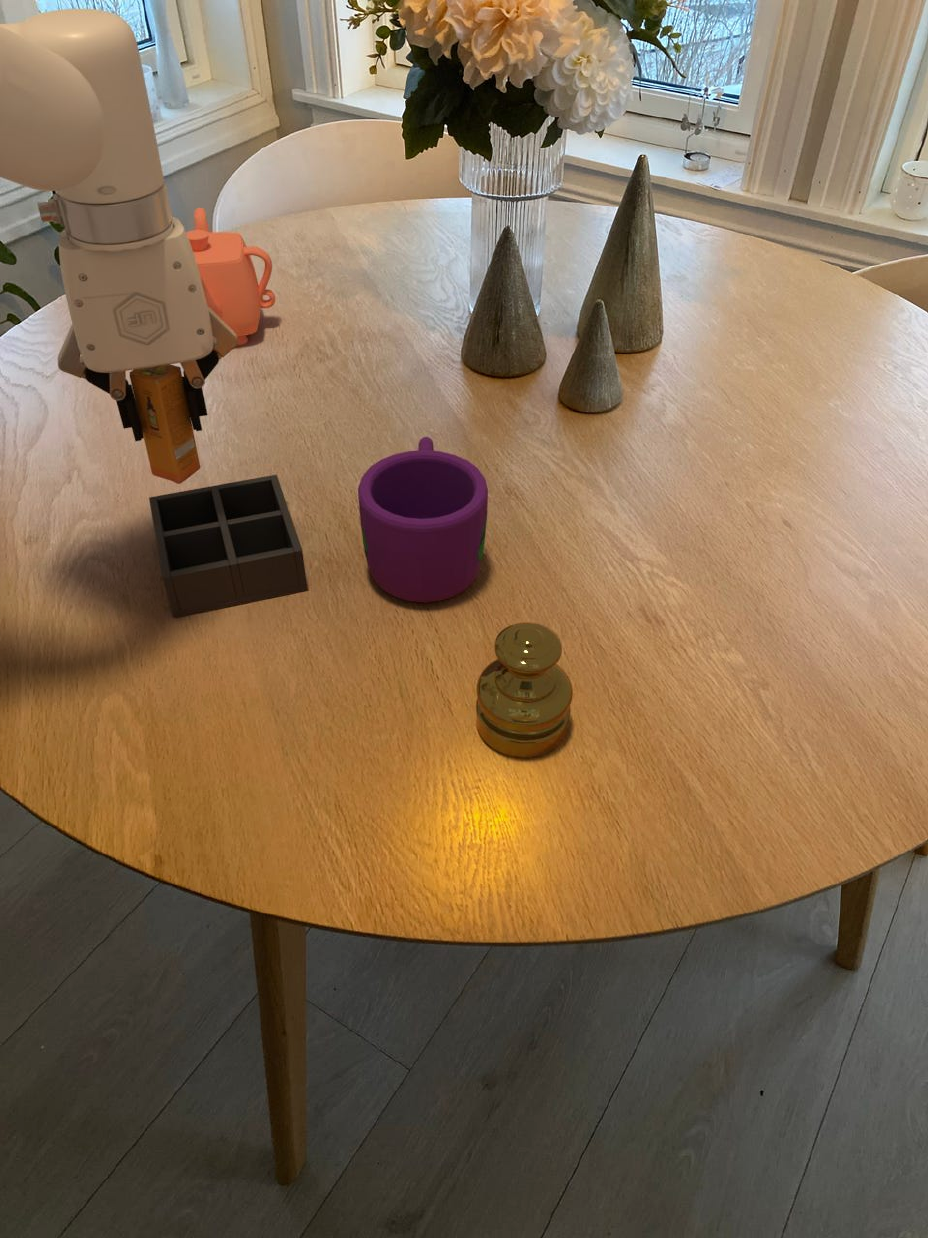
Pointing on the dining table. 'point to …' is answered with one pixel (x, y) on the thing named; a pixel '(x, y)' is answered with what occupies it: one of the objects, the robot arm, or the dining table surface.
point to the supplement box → (165, 422)
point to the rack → (227, 545)
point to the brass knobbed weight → (524, 692)
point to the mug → (423, 523)
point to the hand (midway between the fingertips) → (167, 425)
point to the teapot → (230, 276)
